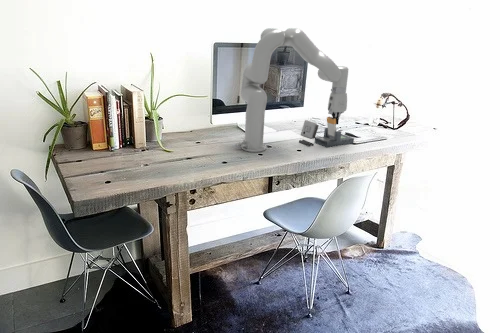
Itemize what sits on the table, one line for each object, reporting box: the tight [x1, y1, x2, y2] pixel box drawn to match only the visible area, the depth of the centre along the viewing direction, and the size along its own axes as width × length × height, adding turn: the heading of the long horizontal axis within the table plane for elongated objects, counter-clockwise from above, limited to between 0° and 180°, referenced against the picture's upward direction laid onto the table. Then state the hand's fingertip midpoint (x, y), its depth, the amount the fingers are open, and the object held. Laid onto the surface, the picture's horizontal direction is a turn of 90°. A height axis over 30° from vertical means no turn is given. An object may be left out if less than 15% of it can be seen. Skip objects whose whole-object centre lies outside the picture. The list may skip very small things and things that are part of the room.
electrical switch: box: [300, 119, 320, 139], centre depth 225 cm, size 9×5×9 cm, turn 35°
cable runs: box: [298, 139, 315, 147], centre depth 211 cm, size 4×9×1 cm, turn 32°
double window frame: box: [313, 127, 355, 149], centre depth 214 cm, size 20×10×8 cm, turn 122°
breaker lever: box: [326, 116, 337, 139], centre depth 210 cm, size 2×6×12 cm, turn 31°
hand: (335, 123), depth 211 cm, fingers closed
